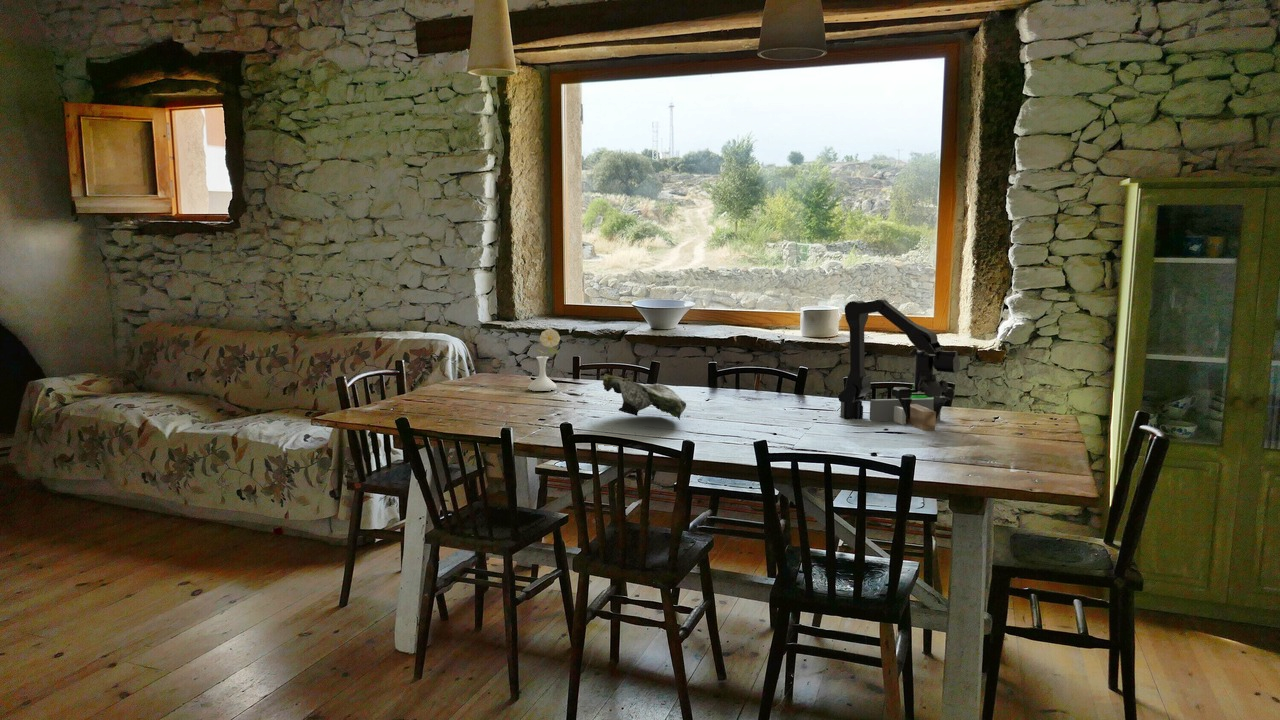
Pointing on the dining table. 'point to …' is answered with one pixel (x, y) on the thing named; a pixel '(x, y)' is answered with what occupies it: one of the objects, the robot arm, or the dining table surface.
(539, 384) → the flower in vase
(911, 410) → the rail
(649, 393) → the rock
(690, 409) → the dining table surface
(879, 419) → the slab with two fins
